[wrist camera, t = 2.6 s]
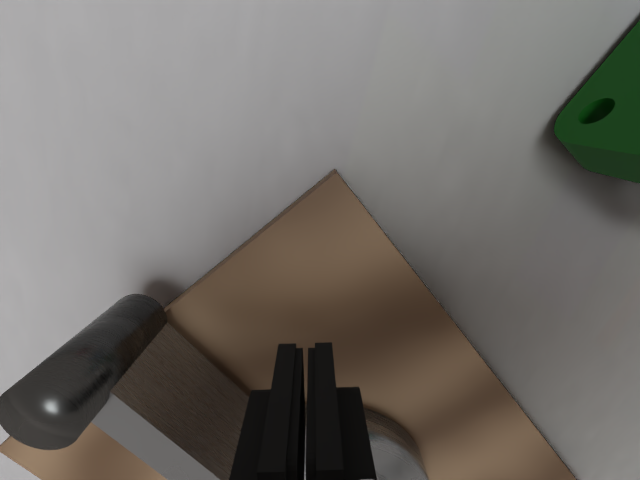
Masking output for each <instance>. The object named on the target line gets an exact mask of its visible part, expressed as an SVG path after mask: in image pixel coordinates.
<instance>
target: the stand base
mask: <svg viewBox="0 0 640 480" xmlns="http://www.w3.org/2000/svg"><path fill="white" fill-rule="evenodd" d="M164 310H165V312H166V315H167V323H169V324H170V325H171V326H172V327H173V328H174V329H175V330H176V331H177V332H178V333H180V334H181V335H182V336H183V337H184V338H185V339H186V340H187V341H188V342H189V343H190V344H192V345H193V346H194V347H195V348H196V349H197V350H198V351H199V352H200V353H201V354H202V355H204V356H205V357H206V358H207V359H208V360H209V361H210V362H211V363H212V364H213V365H215V366H216V367H217V368H218V369H219V370H220V371H221V372H222V373H223V374H224V375H225V376H227V377H228V378H229V379H230V380H231V381H232V382H233V383H234V384H235V385H236V386H238V387H239V388H240V389H241V390H242V391H243V392H244V393H245V394H246V395H247V396H248V397H249V396H250V393H251V391H252V390H267V389H271V385H272V379H273V373H274V367H275V361H276V355H277V349H278V344H289V343H296V348H303V363H304V388H305V405H306V404H307V376H308V348H315V343H325V342H332V348H333V359H334V369H335V380H336V387H359V388H360V392H361V397H362V402H363V407H364V408H367V409H370V410H373V411H375V412H378V413H380V414H382V415H384V416H386V417H388V418H390V419H391V420H393V421H394V422H396V423H397V424H398V425H400V426H401V427H402V428H403V429H404V430H405V431H406V432H407V433H408V434H409V435H410V436H411V438H412V439H413V440H414V441H415V443H416V445H417V447H418V448H419V450H420V453H421V456H422V458H423V462H424V465H425V468H426V471H427V474H428V477H429V480H577V479H576V478H575V477H574V476H573V474H572V473H571V472H570V470H569V469H568V468H567V467H566V465H565V464H564V463H563V461H562V460H561V459H560V458H559V456H558V455H557V454H556V452H555V451H554V450H553V449H552V447H551V446H550V445H549V443H548V442H547V441H546V440H545V438H544V437H543V436H542V434H541V433H540V432H539V431H538V429H537V428H536V427H535V425H534V424H533V423H532V422H531V420H530V419H529V418H528V416H527V415H526V414H525V413H524V411H523V410H522V409H521V407H520V406H519V405H518V404H517V402H516V401H515V400H514V399H513V397H512V396H511V395H510V393H509V392H508V391H507V390H506V388H505V387H504V386H503V384H502V383H501V382H500V381H499V379H498V378H497V377H496V375H495V374H494V373H493V372H492V370H491V369H490V368H489V366H488V365H487V364H486V363H485V361H484V360H483V359H482V357H481V356H480V355H479V354H478V352H477V351H476V350H475V348H474V347H473V346H472V345H471V343H470V342H469V341H468V339H467V338H466V337H465V336H464V334H463V333H462V332H461V330H460V329H459V328H458V327H457V325H456V324H455V323H454V321H453V320H452V319H451V318H450V316H449V315H448V314H447V312H446V311H445V310H444V309H443V307H442V306H441V305H440V303H439V302H438V301H437V300H436V298H435V297H434V296H433V294H432V293H431V292H430V291H429V289H428V288H427V287H426V285H425V284H424V283H423V282H422V280H421V279H420V278H419V277H418V275H417V274H416V273H415V271H414V270H413V269H412V268H411V266H410V265H409V264H408V262H407V261H406V260H405V259H404V257H403V256H402V255H401V253H400V252H399V251H398V250H397V248H396V247H395V246H394V244H393V243H392V242H391V241H390V239H389V238H388V237H387V235H386V234H385V233H384V232H383V230H382V229H381V228H380V226H379V225H378V224H377V223H376V221H375V220H374V219H373V217H372V216H371V215H370V214H369V212H368V211H367V210H366V208H365V207H364V206H363V205H362V203H361V202H360V201H359V199H358V198H357V197H356V196H355V194H354V193H353V192H352V190H351V189H350V188H349V187H348V185H347V184H346V183H345V181H344V180H343V179H342V178H341V176H340V175H339V174H338V172H337V171H336V170H335V169H334V170H333V171H332V172H331V173H329V174H328V175H327V176H326V177H324V178H323V179H322V180H321V181H320V182H318V183H317V184H316V185H315V186H313V187H312V188H311V189H310V190H308V191H307V192H306V193H305V194H304V195H302V196H301V197H300V198H299V199H297V200H296V201H295V202H294V203H293V204H291V205H290V206H289V207H288V208H286V209H285V210H284V211H283V212H282V213H280V214H279V215H278V216H277V217H275V218H274V219H273V220H272V221H271V222H269V223H268V224H267V225H266V226H264V227H263V228H262V229H261V230H259V231H258V232H257V233H256V234H255V235H253V236H252V237H251V238H250V239H248V240H247V241H246V242H245V243H244V244H242V245H241V246H240V247H239V248H237V249H236V250H235V251H234V252H233V253H231V254H230V255H229V256H228V257H226V258H225V259H224V260H223V261H222V262H220V263H219V264H218V265H217V266H215V267H214V268H213V269H212V270H211V271H209V272H208V273H207V274H206V275H204V276H203V277H202V278H201V279H199V280H198V281H197V282H196V283H195V284H193V285H192V286H191V287H190V288H188V289H187V290H186V291H185V292H184V293H182V294H181V295H180V296H179V297H177V298H176V299H175V300H174V301H173V302H171V303H170V304H169V305H168V306H166V307H165V308H164ZM0 452H1V453H3V454H4V455H6V456H7V457H9V458H10V459H12V460H13V461H15V462H16V463H18V464H19V465H21V466H22V467H24V468H25V469H26V470H28V471H29V472H31V473H32V474H34V475H35V476H37V477H38V478H40V479H41V480H167V479H166V478H165V477H163V476H162V475H161V474H159V473H158V472H157V471H155V470H154V469H153V468H151V467H150V466H149V465H147V464H146V463H145V462H143V461H142V460H141V459H139V458H138V457H137V456H135V455H134V454H133V453H132V452H130V451H129V450H128V449H126V448H125V447H124V446H122V445H121V444H120V443H118V442H117V441H116V440H114V439H113V438H112V437H110V436H109V435H108V434H106V433H105V432H104V431H102V430H101V429H100V428H98V427H97V426H96V425H94V424H93V423H92V422H91V423H90V424H89V425H88V426H87V428H86V429H85V430H84V431H83V433H82V434H81V435H80V436H79V438H78V439H77V440H76V441H75V442H74V443H73V444H71V445H70V446H68V447H66V448H62V449H58V450H41V449H36V448H33V447H30V446H27V445H25V444H23V443H21V442H19V441H17V440H16V439H14V438H13V437H12V436H9V437H8V438H7V439H6V440H5V441H4V442H3V443H2V444H1V445H0Z"/></svg>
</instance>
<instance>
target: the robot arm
mask: <svg viewBox="0 0 640 480" xmlns="http://www.w3.org/2000/svg"><path fill="white" fill-rule="evenodd" d="M305 432H306V480H377V477H376V472H375V466H374V461H373V456H372V450H371V445H370V440H369V434H368V429H367V424H366V418H365V413H364V408H363V402H362V397H361V392H360V388H359V387H336V380H335V369H334V359H333V348H332V342H325V343H315V348H308V376H307V421H306V413H305V388H304V363H303V348H296V343H289V344H278V349H277V355H276V361H275V367H274V373H273V379H272V385H271V389H267V390H252V391H251V393H250V396H249V400H248V404H247V408H246V412H245V416H244V420H243V424H242V428H241V433H240V437H239V441H238V445H237V449H236V453H235V457H234V461H233V465H232V469H231V473H230V477H229V480H304V472H305Z"/></svg>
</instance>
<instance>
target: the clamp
mask: <svg viewBox="0 0 640 480" xmlns="http://www.w3.org/2000/svg"><path fill="white" fill-rule="evenodd" d="M554 132H555V135H556V137H557V138H558V139H559V140H560V141H561V143H562V144H563V145H564V146H565V147H566V148H567V150H568V151H569V152H570V153H571V154H572V155H573V157H574V158H575V159H576V160H577V161H578V162H579V164H580V165H581V166H582V167H583V168H585V169H586V170H589V171H592V172H596V173H600V174H604V175H608V176H612V177H616V178H620V179H624V180H628V181H632V182H636V183H640V20H639V22H638V23H637V24H636V25H635V26H634V27H633V29H632V30H631V31H630V32H629V33H628V34H627V36H626V37H625V38H624V39H623V40H622V41H621V43H620V44H619V45H618V46H617V47H616V48H615V50H614V51H613V52H612V53H611V54H610V55H609V57H608V58H607V59H606V60H605V61H604V62H603V64H602V65H601V66H600V67H599V68H598V69H597V70H596V72H595V73H594V74H593V75H592V76H591V77H590V79H589V80H588V81H587V82H586V83H585V84H584V86H583V87H582V88H581V89H580V90H579V91H578V93H577V94H576V95H575V96H574V97H573V98H572V100H571V101H570V102H569V103H568V104H567V105H566V107H565V108H564V109H563V110H562V111H561V113H560V114H559V116H558V118H557V120H556V122H555V125H554Z"/></svg>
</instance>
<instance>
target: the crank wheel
mask: <svg viewBox="0 0 640 480" xmlns="http://www.w3.org/2000/svg"><path fill="white" fill-rule="evenodd" d="M248 400H249V397H248V396H247V395H246V394H245V393H244V392H243V391H242V390H241V389H240V388H239V387H238V386H236V385H235V384H234V383H233V382H232V381H231V380H230V379H229V378H228V377H227V376H225V375H224V374H223V373H222V372H221V371H220V370H219V369H218V368H217V367H216V366H215V365H213V364H212V363H211V362H210V361H209V360H208V359H207V358H206V357H205V356H204V355H202V354H201V353H200V352H199V351H198V350H197V349H196V348H195V347H194V346H193V345H192V344H190V343H189V342H188V341H187V340H186V339H185V338H184V337H183V336H182V335H181V334H180V333H178V332H177V331H176V330H175V329H174V328H173V327H172V326H171V325H170V324H169V323H167V315H166V312H165V310H164V309H163V307H162V306H161V305H160V304H159V303H158V302H157V301H156V300H154V299H152V298H150V297H148V296H145V295H141V294H132V295H128V296H125V297H123V298H122V299H120V300H119V301H118V302H117V303H115V304H114V305H113V306H112V307H110V308H109V309H108V310H107V311H105V312H104V313H103V314H102V315H100V316H99V317H98V318H97V319H95V320H94V321H93V322H92V323H90V324H89V325H88V326H87V327H85V328H84V329H83V330H82V331H80V332H79V333H78V334H77V335H75V336H74V337H73V338H72V339H70V340H69V341H68V342H67V343H66V344H64V345H63V346H62V347H61V348H59V349H58V350H57V351H56V352H54V353H53V354H52V355H51V356H49V357H48V358H47V359H46V360H44V361H43V362H42V363H41V364H39V365H38V366H37V367H36V368H34V369H33V370H32V371H31V372H29V373H28V374H27V375H26V376H24V377H23V378H22V379H21V380H19V381H18V382H17V383H16V384H14V385H13V386H12V387H11V388H9V389H8V390H7V391H6V392H4V393H3V394H2V395H1V396H0V424H1V426H2V427H3V429H4V430H5V431H6V432H7V433H8V434H9V435H10V436H12V437H13V438H14V439H16V440H17V441H19V442H21V443H23V444H25V445H27V446H30V447H33V448H36V449H41V450H58V449H62V448H66V447H68V446H70V445H71V444H73V443H74V442H75V441H76V440H77V439H78V438H79V436H80V435H81V434H82V433H83V431H84V430H85V429H86V428H87V426H88V425H89V424H90V423H91V422H92V423H93V424H94V425H96V426H97V427H98V428H100V429H101V430H102V431H104V432H105V433H106V434H108V435H109V436H110V437H112V438H113V439H114V440H116V441H117V442H118V443H120V444H121V445H122V446H124V447H125V448H126V449H128V450H129V451H130V452H132V453H133V454H134V455H135V456H137V457H138V458H139V459H141V460H142V461H143V462H145V463H146V464H147V465H149V466H150V467H151V468H153V469H154V470H155V471H157V472H158V473H159V474H161V475H162V476H163V477H165V478H166V479H167V480H229V477H230V473H231V469H232V465H233V461H234V457H235V453H236V449H237V445H238V441H239V437H240V433H241V428H242V424H243V420H244V416H245V412H246V408H247V404H248ZM363 408H364V407H363ZM305 413H306V421H307V404H306V405H305ZM364 413H365V418H366V424H367V429H368V434H369V440H370V445H371V450H372V456H373V461H374V466H375V472H376V477H377V480H429V477H428V474H427V471H426V468H425V465H424V462H423V458H422V456H421V453H420V450H419V448H418V447H417V445H416V443H415V441H414V440H413V439H412V438H411V436H410V435H409V434H408V433H407V432H406V431H405V430H404V429H403V428H402V427H401V426H400V425H398V424H397V423H396V422H394V421H393V420H391V419H390V418H388V417H386V416H384V415H382V414H380V413H378V412H375V411H373V410H370V409H367V408H364ZM304 480H306V432H305V472H304Z"/></svg>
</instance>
